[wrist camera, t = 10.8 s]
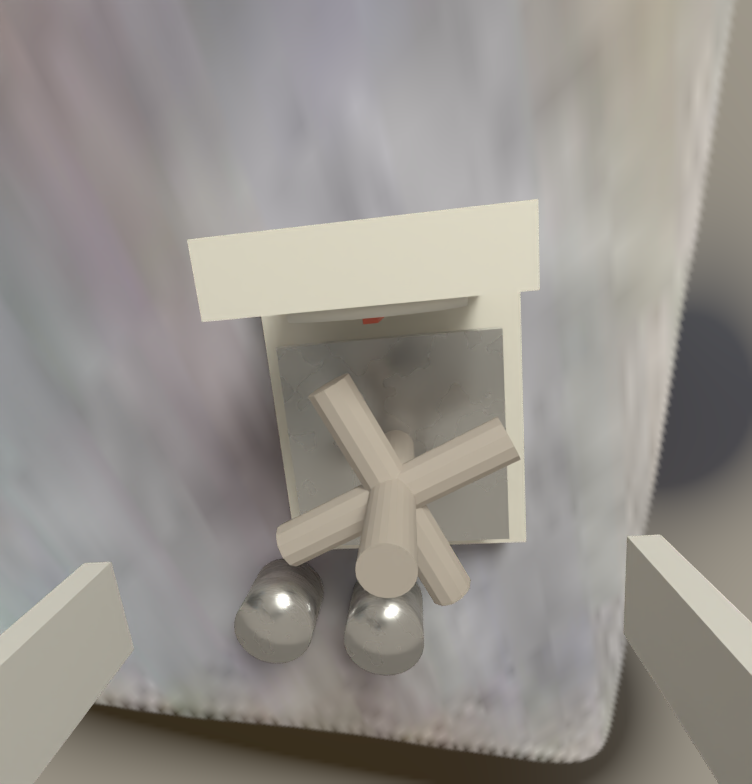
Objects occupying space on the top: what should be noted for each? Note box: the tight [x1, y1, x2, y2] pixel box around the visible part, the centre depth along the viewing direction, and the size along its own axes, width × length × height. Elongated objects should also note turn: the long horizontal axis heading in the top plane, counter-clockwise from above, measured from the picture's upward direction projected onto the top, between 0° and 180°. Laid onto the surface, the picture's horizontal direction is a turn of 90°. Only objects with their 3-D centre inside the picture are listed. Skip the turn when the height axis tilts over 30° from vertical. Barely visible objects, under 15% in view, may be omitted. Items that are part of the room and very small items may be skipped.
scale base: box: [187, 199, 540, 549], centre depth 21 cm, size 14×18×14 cm
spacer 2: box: [344, 581, 424, 675], centre depth 29 cm, size 5×5×4 cm
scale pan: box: [276, 327, 509, 545], centre depth 23 cm, size 11×11×1 cm
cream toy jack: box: [276, 373, 521, 606], centre depth 18 cm, size 10×10×10 cm
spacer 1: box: [234, 559, 324, 663], centre depth 30 cm, size 5×5×4 cm
